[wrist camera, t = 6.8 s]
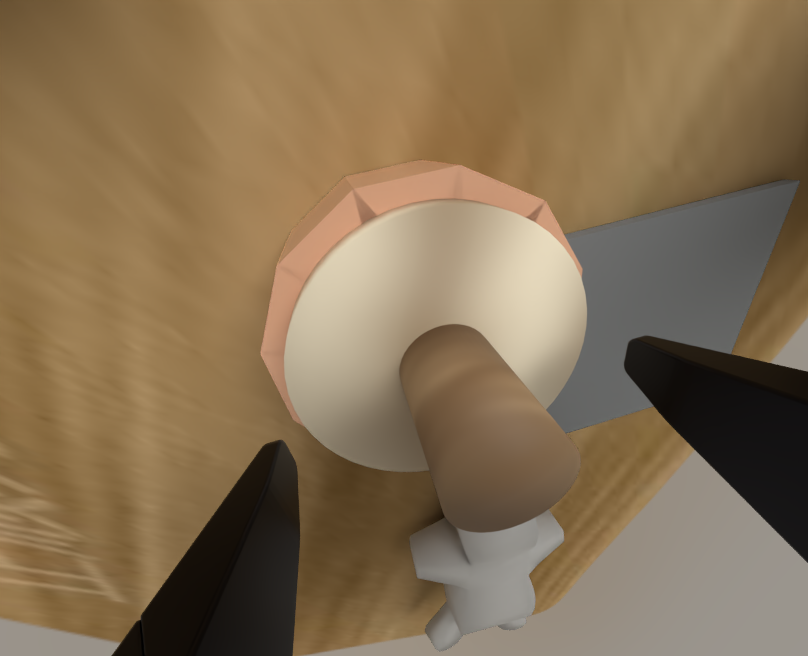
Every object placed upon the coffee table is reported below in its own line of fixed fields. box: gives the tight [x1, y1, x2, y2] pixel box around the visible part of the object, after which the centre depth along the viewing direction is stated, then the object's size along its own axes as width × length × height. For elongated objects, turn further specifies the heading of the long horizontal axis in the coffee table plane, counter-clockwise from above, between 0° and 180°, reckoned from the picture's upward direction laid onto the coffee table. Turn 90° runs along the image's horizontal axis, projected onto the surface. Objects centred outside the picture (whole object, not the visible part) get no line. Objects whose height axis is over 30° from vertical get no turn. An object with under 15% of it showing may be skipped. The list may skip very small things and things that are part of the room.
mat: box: [546, 179, 800, 433], centre depth 17 cm, size 12×12×1 cm
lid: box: [284, 198, 587, 533], centre depth 8 cm, size 9×9×5 cm
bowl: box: [260, 160, 583, 427], centre depth 12 cm, size 10×10×4 cm
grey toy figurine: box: [409, 509, 564, 651], centre depth 22 cm, size 10×5×15 cm
